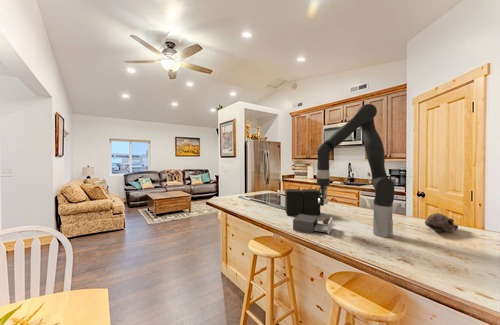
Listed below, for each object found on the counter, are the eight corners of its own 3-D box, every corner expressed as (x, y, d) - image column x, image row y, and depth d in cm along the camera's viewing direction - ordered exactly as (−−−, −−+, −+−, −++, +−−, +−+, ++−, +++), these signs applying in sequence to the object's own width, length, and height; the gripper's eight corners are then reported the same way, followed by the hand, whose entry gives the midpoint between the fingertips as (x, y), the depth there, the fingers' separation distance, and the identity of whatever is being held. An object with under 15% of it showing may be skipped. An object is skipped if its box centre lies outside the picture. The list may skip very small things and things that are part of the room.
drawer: (332, 227, 135) (332, 217, 135) (329, 234, 123) (329, 223, 123) (317, 225, 139) (317, 215, 139) (313, 231, 128) (313, 221, 127)
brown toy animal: (444, 239, 116) (445, 221, 115) (417, 232, 126) (418, 215, 126) (461, 230, 129) (461, 214, 128) (435, 224, 139) (435, 209, 139)
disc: (329, 202, 133) (329, 198, 133) (327, 204, 128) (327, 200, 128) (319, 201, 136) (319, 197, 136) (316, 203, 131) (316, 199, 131)
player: (317, 226, 140) (317, 216, 139) (312, 233, 127) (312, 222, 127) (299, 223, 145) (299, 213, 145) (293, 229, 133) (293, 219, 133)
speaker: (316, 211, 173) (316, 189, 173) (320, 215, 163) (320, 191, 162) (285, 211, 174) (285, 189, 174) (286, 215, 164) (286, 191, 163)
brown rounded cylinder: (329, 223, 145) (329, 217, 145) (328, 224, 142) (328, 219, 142) (323, 222, 147) (323, 217, 147) (322, 223, 144) (322, 218, 143)
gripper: (327, 178, 124) (327, 207, 124) (331, 176, 136) (331, 202, 137) (314, 178, 127) (314, 206, 128) (319, 175, 140) (319, 201, 140)
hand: (323, 204), depth 132 cm, fingers closed on disc, 6 cm apart
